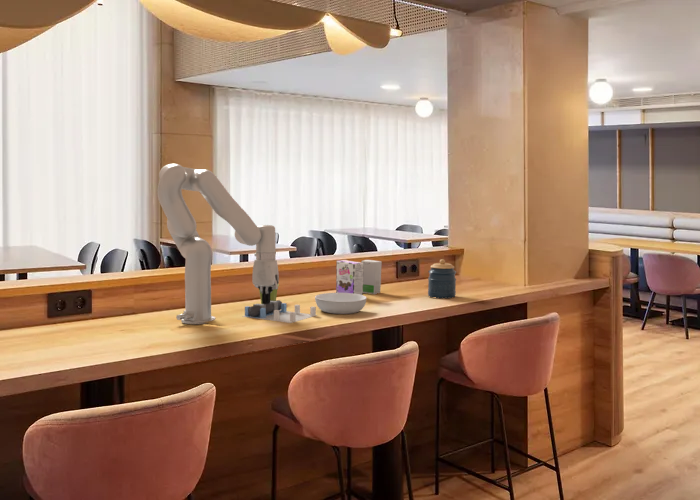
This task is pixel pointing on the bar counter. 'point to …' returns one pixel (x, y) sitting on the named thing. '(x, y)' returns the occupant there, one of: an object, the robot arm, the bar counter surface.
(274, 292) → the plant pot
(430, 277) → the canister
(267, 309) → the dark grey rounded bar
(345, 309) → the serving bowl
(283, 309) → the blue grey peg board
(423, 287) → the bar counter surface
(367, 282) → the skincare box
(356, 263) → the candy box
